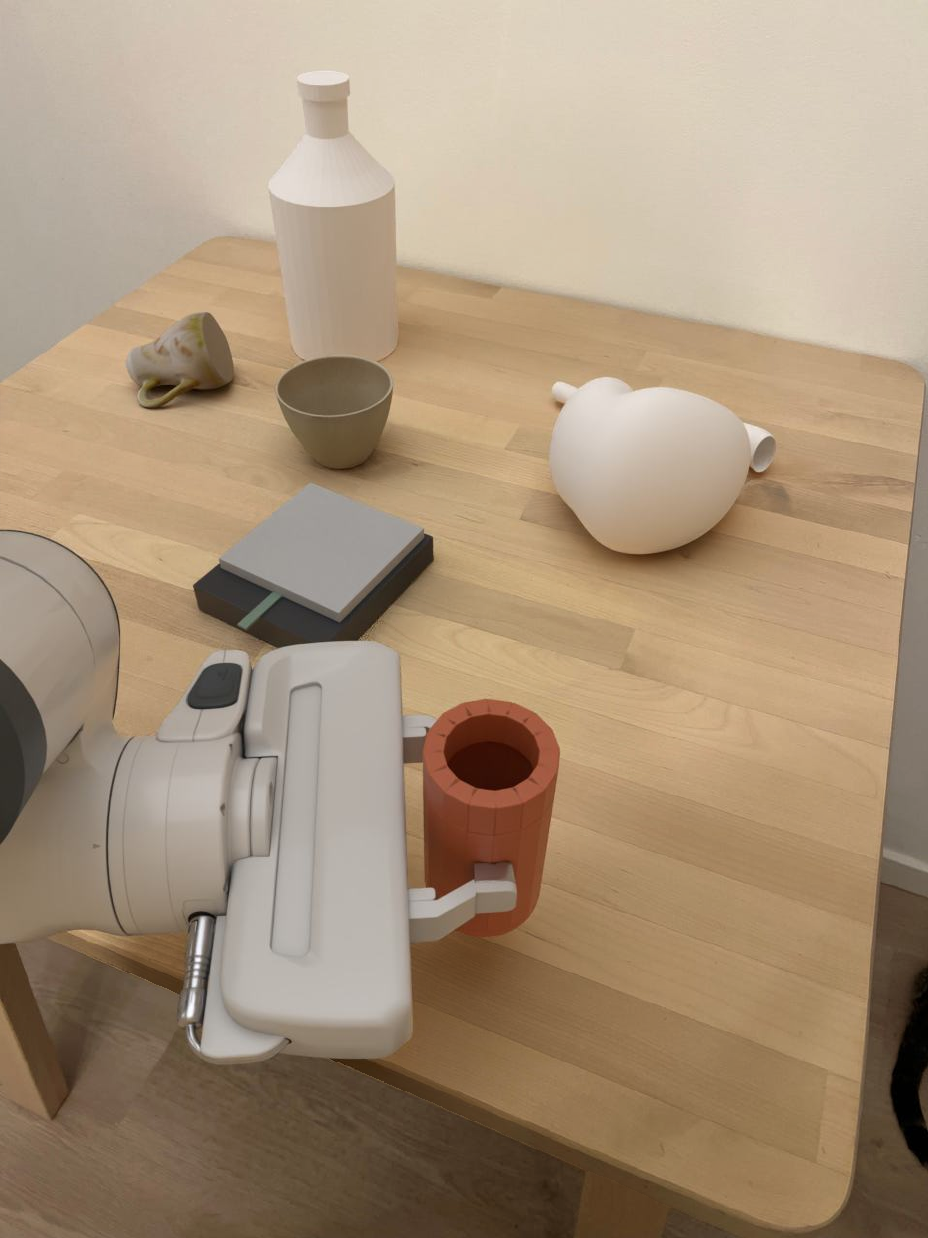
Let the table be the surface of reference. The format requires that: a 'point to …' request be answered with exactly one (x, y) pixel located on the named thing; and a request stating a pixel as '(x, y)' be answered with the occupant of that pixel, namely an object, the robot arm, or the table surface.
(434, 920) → the robot arm
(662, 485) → the stomach
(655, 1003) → the table surface
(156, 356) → the mug
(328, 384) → the olive grey bowl
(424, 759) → the jar
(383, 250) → the bottle
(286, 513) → the scale
